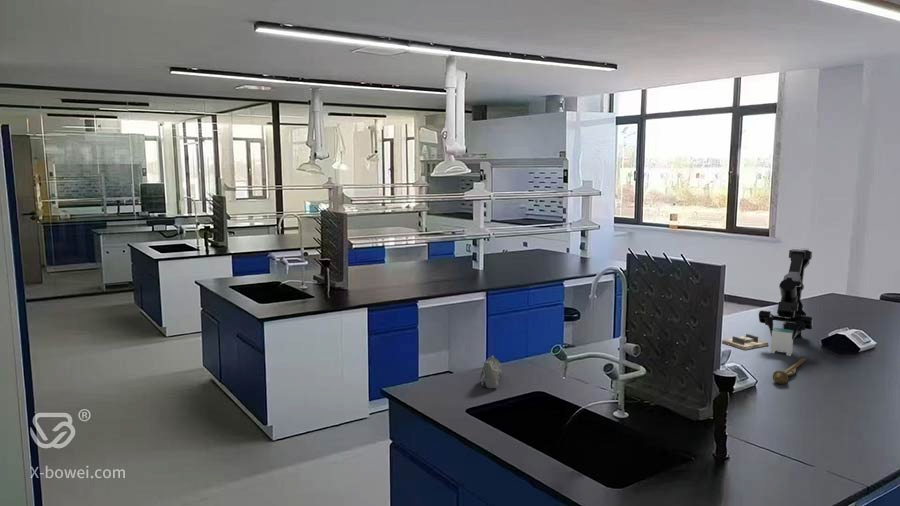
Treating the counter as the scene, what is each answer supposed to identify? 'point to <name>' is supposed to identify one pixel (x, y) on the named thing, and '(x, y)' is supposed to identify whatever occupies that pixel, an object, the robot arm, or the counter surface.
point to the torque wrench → (786, 372)
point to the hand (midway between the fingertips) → (781, 337)
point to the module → (782, 340)
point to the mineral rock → (491, 373)
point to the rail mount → (745, 342)
